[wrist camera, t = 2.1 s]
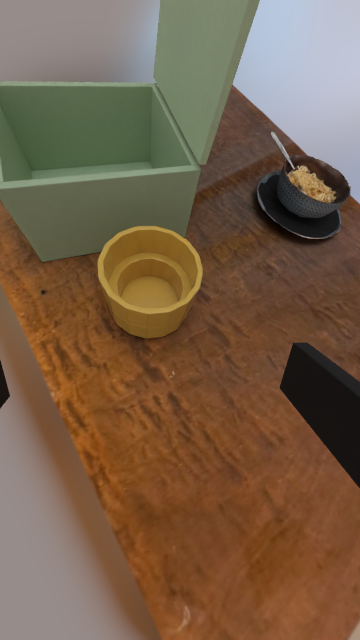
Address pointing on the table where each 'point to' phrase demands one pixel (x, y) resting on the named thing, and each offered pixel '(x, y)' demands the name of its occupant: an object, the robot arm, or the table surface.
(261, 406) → the table surface
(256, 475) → the table surface
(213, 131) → the chest lid
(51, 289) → the table surface
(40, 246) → the chest
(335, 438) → the robot arm
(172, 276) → the bowl
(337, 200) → the soup bowl
